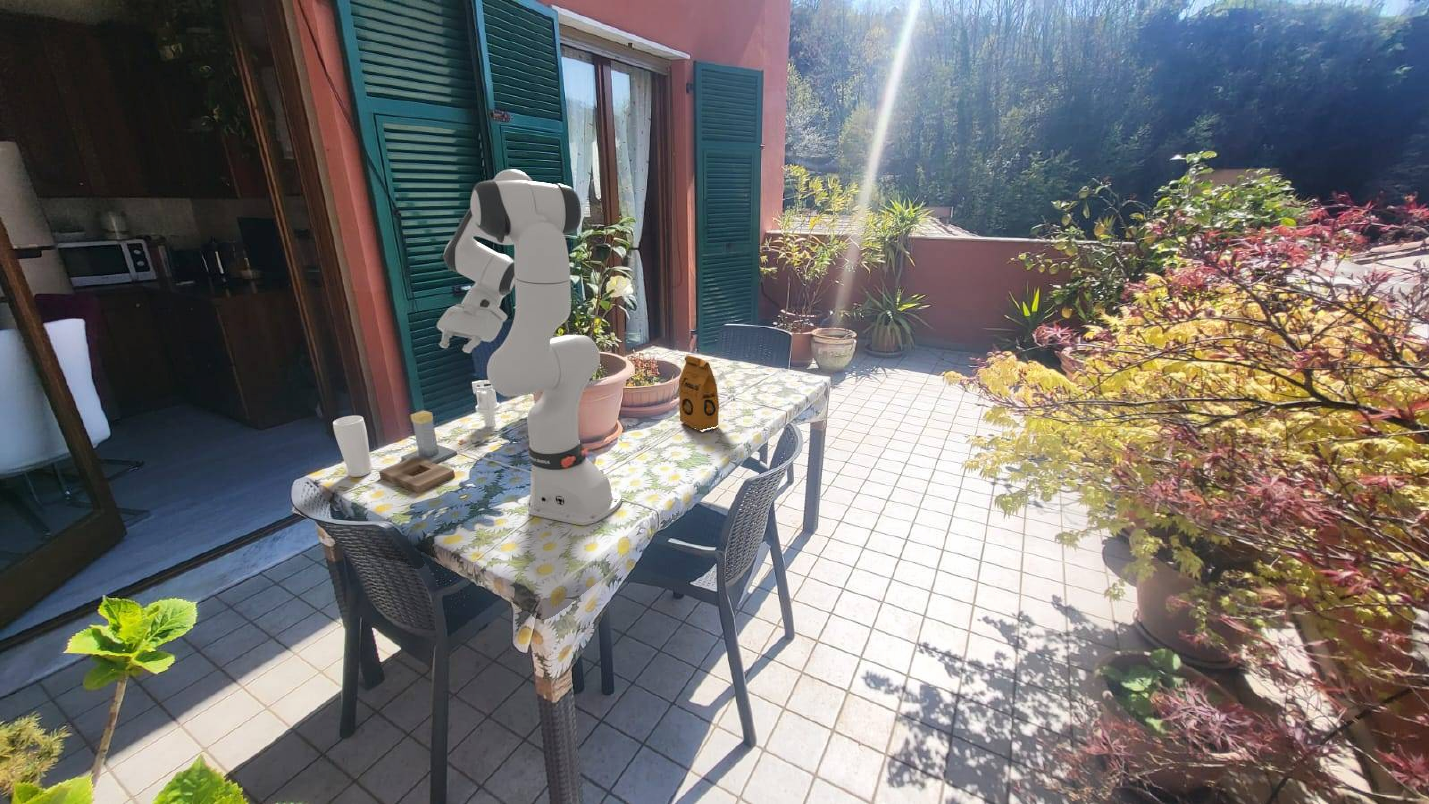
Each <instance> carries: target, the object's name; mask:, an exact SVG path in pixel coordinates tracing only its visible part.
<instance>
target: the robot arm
mask: <svg viewBox="0 0 1429 804" xmlns="http://www.w3.org/2000/svg"><path fill="white" fill-rule="evenodd" d="M469 203H470V204H469V205H470V207H469V209H468V210H467V212H466V213H465V214H464V215H463V217H462V220H461V221H460V223H459V225H458V227H457V228H456V229H455V230H456V231H455V233H454V234H453V237H452V239H451V240H449V242H448V243H447V245H446V246H445V249H444V252H443V255H442V256H443V260H444V264H445V265H446V267H447V269H448V270H450V271H452V272H454V273H456V274H459V275H462V276H464V277H465V278H468V279H469V280H472V281H473V282H474V285H472V286H471V287H470V288H469V289H468V291H467V293H466V294H465V296H464V297H463V299H462V301H461V303H456V304H455V305H453V306H451V307H449V308H448V309H447V310H445V311H444V314H443V315H442V316H441V317H440V318H439V320H438V321H437V323H436V329H438V330H439V331H441V332H442V333H441V341H440V342H439V344H438V345H439V346H440V347H441V348H443V349H448V348H449V346H450V344H451V343H450V339H452V338H453V336H456V337H460V338H461V337H462V338H468V339H470V340H469V342H468V343H467V344H466V343H465V344H464V345H463V347H462V351H463V352H464V353H467V354H471V352H472V351H473V349H474V348H476V347H477V346H479V345H480V344H481V342H482V341H483V342H487V343H491V342H492V341H494V340H495V339H496V337H497V336H498V334H499V333H500V331H501V329H502V327H503V323H504V322H506V321H507V319H508V315H507V314H506V313H505V312H504V311H503V310H502V309H501V308H500V307H501V304H502V300H503V298H505V297H507V295H509V294H511V293H512V291H513V289H514V291H515V293H514V294H515V310H514V318H513V322H512V325H511V327H510V330H509V332H508V335H507V336H506V338H505V339H504V341H503V342H502V344H501V345H500V347H498V348H497V349H495V351H494V352H493V353H492V354H491V355H490V356H489V359H488V362H487V366H486V375H487V380H489V382H490V384H489V385H490V386H491V385H492V387H493V388H494V389H493V390H495V392H497V393H498V394H499V395H501V396H503V397H520V396H521V397H522V396H528V395H532V394H537V393H541V392H543V393H542V395H541V396H540V399H538V401H537V402H536V403H535V404H533V406H532V407H531V408H529V411H528V413H527V417H526V424H527V425H526V426H527V430H528V431H527V433H528V440H529V444H528V448H527V449H528V454H527V455H528V459H529V462H530V464H531V470H530V471H531V472H530V495H529V500H528V502H529V508H528V514H529V515H530V516H535V517H539V518H544V519H549V520H554V521H558V522H559V521H560V522H563V523H568V524H573V525H578V526H588V525H591V524H595V523H597V522H599V521H600V520H603V519H604V518H606V517H607V516H610V514H612V513H613V512H614V511H616V510H617V509H618V508H619V507H620V506H621V503H622V502H623V496H622V495H621V494H619V493H618V492H616V491H613V490H612V486H611V483H610V480H609V478H608V476H607V475H605V474H604V473H605V472H604V471H603V469H602V468H598V467H597V466H596V465H595V464H594V463H593V462H592V461H590V459H589V458H588V456H587V454H588V453H590V451H589V447H587V448H585V447H583V446H584V445H583V444H582V442H581V440H580V437H579V436H580V435H579V424H578V423H579V422H578V421H579V417H578V413H579V412H578V411H579V404H580V401H581V398H582V395H583V392H584V390H585V388H586V386H587V384H588V382H589V381H590V379H592V377H593V376H594V375H595V373H597V371H598V370H599V367H600V361H601V354H600V350H599V348H598V346H597V344H596V343H595V341H594V340H593V339H592V338H591V337H590V336H587V335H585V334H584V335H583V334H564V335H558V336H554V334H555V332H556V331H557V330H558V329H559V328H560V326H562V325H563V324H564V323H565V322H566V321H567V320H568V319H569V317H570V314H571V310H572V297H571V268H570V267H571V265H570V258H569V252H568V251H569V250H568V245H567V239H566V237H565V236H566V235H570V234H573V233H575V232H577V229H578V228H579V227H580V225H581V224H580V223H581V220H582V219H581V218H582V207H581V201H580V198H579V195H578V194H577V192H576V191H575V190H574V189H573V188H572V187H571V186H568V185H564V184H562V183H558V182H555V183H553V184H552V183H547V182H540V181H533V179H532V177H530V176H529V175H527V174H526V173H525V172H523V171H521V170H519V169H513V168H511V169H510V168H508V169H504V170H502V171H500V172H498V173H497V174H496V175H495V176H494V178H493V179H489V180H484V181H479V182H477V183H475V185H474V187H473V188H472V192H471V197H470V202H469ZM474 237H479V238H482V239H485V240H487V241H490V242H493V243H495V244H498V245H502V246H512V245H513V246H514V247H513V248H514V259H513V258H512V257H510V256H509V255H507V254H504V253H499V252H497V251H495V250H494V249H491V248H490V247H488V246H486V245H484V244H482V243H481V242H478V241H477V240H476V239H475V238H474ZM584 448H585V449H584Z"/></svg>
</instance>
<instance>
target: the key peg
mask: <svg viewBox="0 0 1429 804" xmlns="http://www.w3.org/2000/svg"><path fill="white" fill-rule="evenodd" d="M410 420H411V422H412V426H413V431H414V435H415V440H416V444H417V445H416V446H417V450H418V451H419V455H420V456H423V457H426V458H428V457H431V456H433V455H435V454H438V453H439V452H438V446H437V445H438V442H437V436H436V430H435V426H434V416H433V412H430V411H428V410H420V411H418V412H414V413H411V414H410Z"/></svg>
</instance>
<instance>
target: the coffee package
mask: <svg viewBox="0 0 1429 804" xmlns="http://www.w3.org/2000/svg"><path fill="white" fill-rule="evenodd" d="M684 361H685V364H684V366H683V368H682V371H681V375H680V376H679V379H678V389H679V390H678V395H679V396H678V399H679V405H678V408H679V422H680V421H681V422H680V423H683V424H684V425H686V426H688V427H690V428H692V427H693V428H696V429H698V430H703V429H707V428H711V427H716V426H717V425H718V426H719V411H720V409H719V408H720V402H719V393H718V384H717V381H716V378H715V375H714V373H713V370H712V368H711V364H710V362H709V361H706V360H704V359H702V358H699V357H695V356H692V355H689V354H687V355H685V357H684ZM693 428H692V429H693ZM696 429H695V430H696ZM698 430H697V431H698Z"/></svg>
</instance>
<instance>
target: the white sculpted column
mask: <svg viewBox="0 0 1429 804" xmlns="http://www.w3.org/2000/svg"><path fill="white" fill-rule="evenodd" d="M485 385H488V386H485ZM471 386H472V392H473V394H474V395H476V401H477V402H476V403H477V405H475V412H476V413H479V414H483V418H484V424H485V425H484V426H485V427H486V428H493V427H495V426H496V418H495V412H498V411H499V410H500V409H501V404H500V402H497V401H498V400H497V395H496V390H495V389H494V388H493V387H492V385H491V384H490V382H489V379H487V380H486V379H485V380H480V379H479V380H475V381H472V382H471Z"/></svg>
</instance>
